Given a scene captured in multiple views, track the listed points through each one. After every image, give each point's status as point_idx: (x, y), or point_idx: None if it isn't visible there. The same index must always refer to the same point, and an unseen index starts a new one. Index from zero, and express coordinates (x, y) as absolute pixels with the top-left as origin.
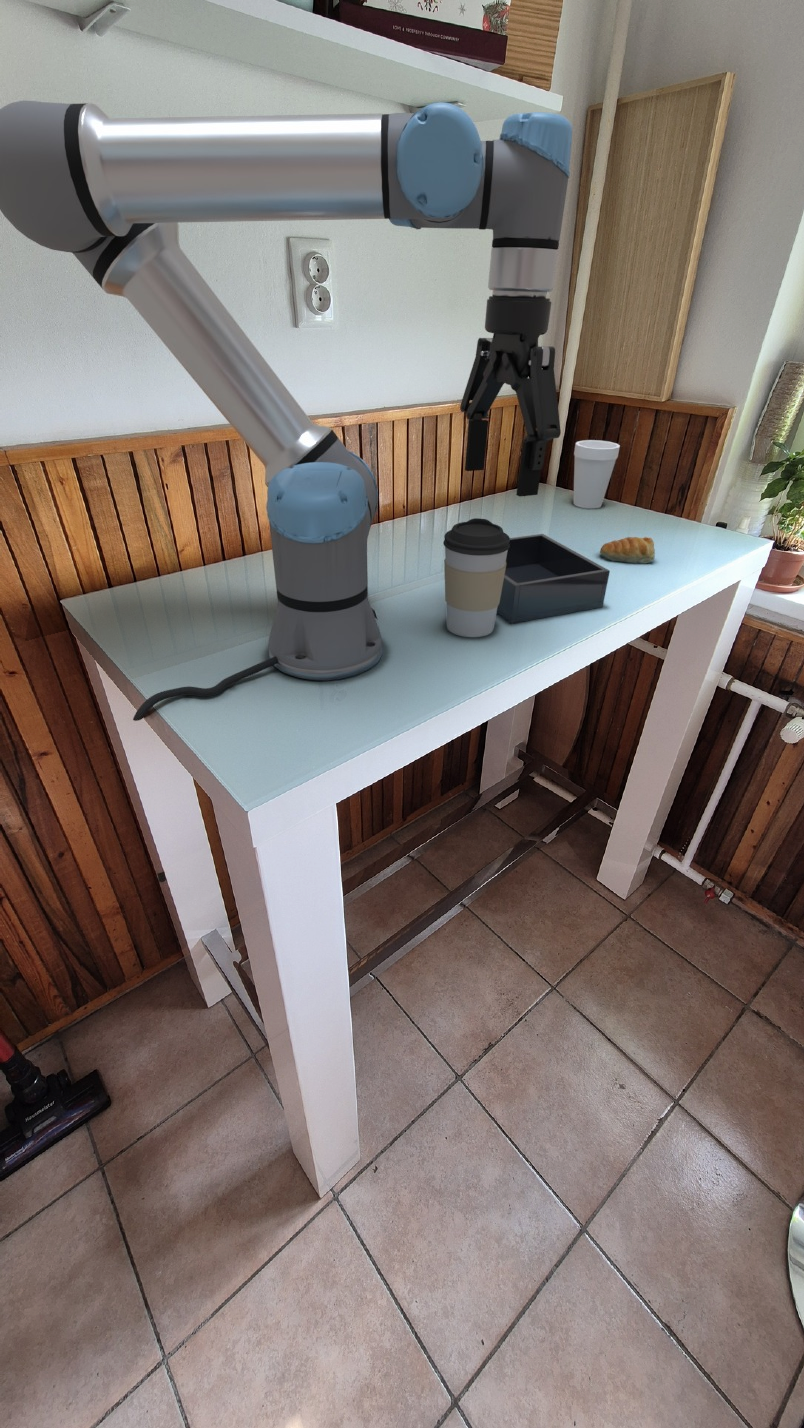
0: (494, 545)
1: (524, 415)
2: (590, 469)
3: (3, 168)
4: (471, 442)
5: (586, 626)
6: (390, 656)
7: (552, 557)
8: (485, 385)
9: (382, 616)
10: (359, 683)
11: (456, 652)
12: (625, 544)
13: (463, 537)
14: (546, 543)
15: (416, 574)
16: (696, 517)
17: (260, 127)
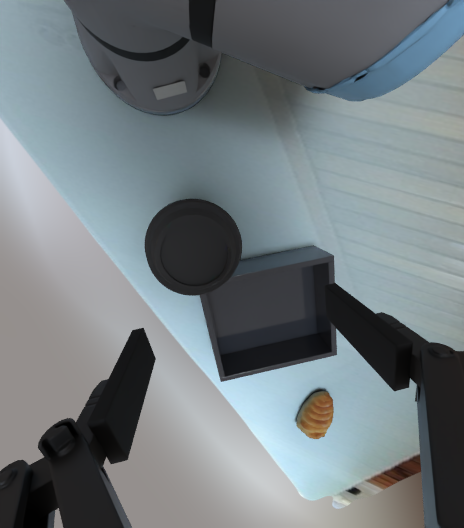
0: (150, 264)
1: (91, 499)
2: None
3: None
4: (358, 318)
5: (183, 330)
6: (140, 121)
7: (300, 347)
8: (448, 503)
9: (240, 136)
10: (79, 67)
11: (143, 197)
12: (315, 415)
13: (165, 223)
14: (318, 351)
15: (339, 206)
16: (377, 482)
17: None
